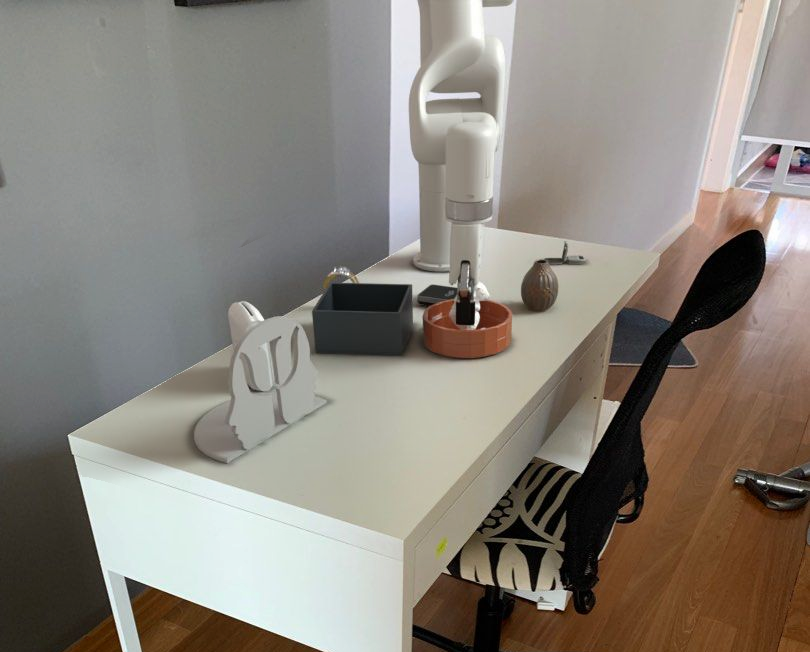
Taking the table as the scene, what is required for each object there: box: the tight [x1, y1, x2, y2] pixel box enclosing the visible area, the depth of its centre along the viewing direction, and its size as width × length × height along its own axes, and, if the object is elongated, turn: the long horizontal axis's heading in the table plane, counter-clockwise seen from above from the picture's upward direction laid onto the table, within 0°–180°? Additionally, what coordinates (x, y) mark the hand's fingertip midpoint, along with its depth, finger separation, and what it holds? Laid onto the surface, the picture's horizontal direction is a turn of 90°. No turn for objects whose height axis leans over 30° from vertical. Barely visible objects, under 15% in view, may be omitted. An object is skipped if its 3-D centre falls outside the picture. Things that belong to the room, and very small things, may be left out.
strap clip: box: [543, 240, 587, 265], centre depth 181 cm, size 8×3×4 cm, turn 87°
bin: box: [311, 282, 414, 357], centre depth 149 cm, size 14×15×8 cm
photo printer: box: [227, 300, 275, 391], centre depth 136 cm, size 10×4×12 cm, turn 26°
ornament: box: [193, 315, 328, 464], centre depth 123 cm, size 22×13×17 cm, turn 145°
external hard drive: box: [416, 284, 457, 307], centre depth 164 cm, size 7×11×2 cm, turn 64°
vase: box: [520, 259, 559, 312], centre depth 159 cm, size 7×7×9 cm
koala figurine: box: [449, 278, 490, 330], centre depth 145 cm, size 8×7×12 cm
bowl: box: [422, 299, 513, 359], centre depth 148 cm, size 15×15×5 cm
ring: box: [323, 264, 360, 292], centre depth 161 cm, size 7×3×8 cm, turn 68°
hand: (467, 315), depth 147 cm, fingers closed on koala figurine, 6 cm apart
